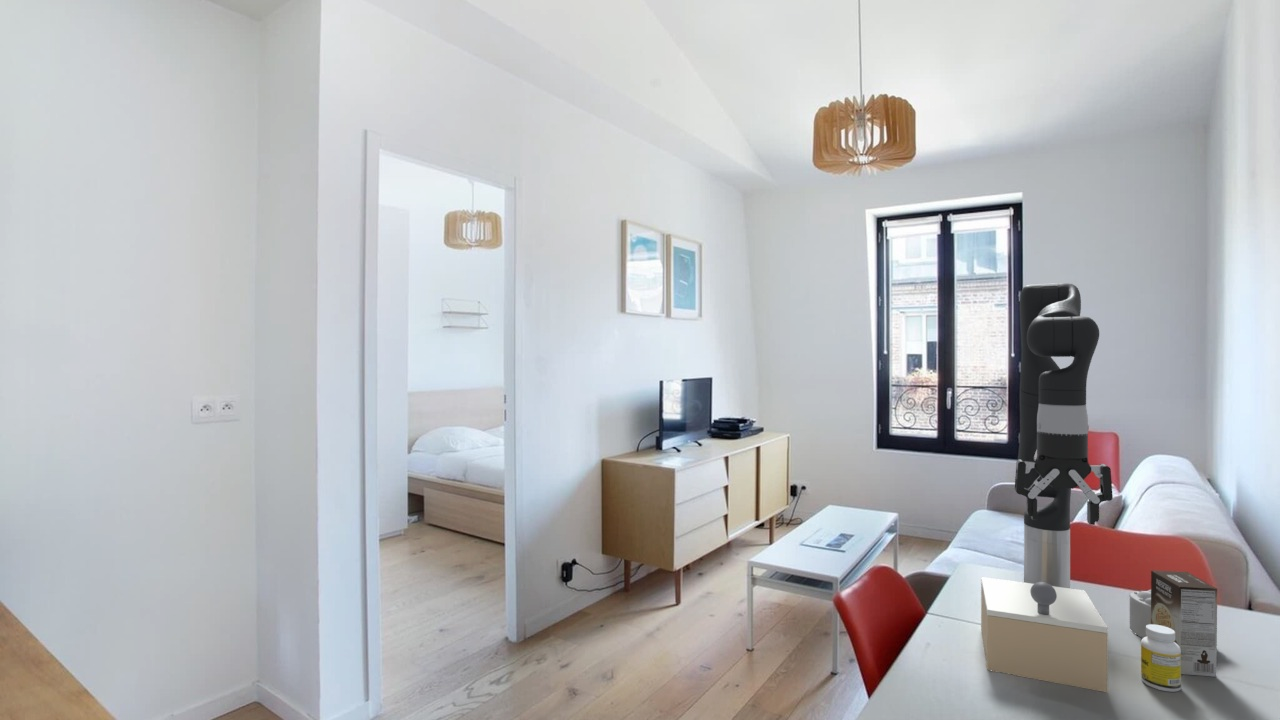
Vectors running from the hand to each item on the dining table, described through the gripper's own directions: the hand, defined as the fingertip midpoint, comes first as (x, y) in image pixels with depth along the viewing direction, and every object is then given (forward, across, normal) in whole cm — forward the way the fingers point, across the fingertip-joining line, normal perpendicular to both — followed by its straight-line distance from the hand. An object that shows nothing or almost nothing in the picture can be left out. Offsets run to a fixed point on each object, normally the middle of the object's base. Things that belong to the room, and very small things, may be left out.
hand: (1061, 521), depth 112 cm
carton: (+28, +2, -8) cm, 29 cm away
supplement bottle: (+28, -15, -5) cm, 33 cm away
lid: (+18, +3, -8) cm, 20 cm away
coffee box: (+28, -22, -16) cm, 39 cm away
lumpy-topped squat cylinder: (+29, -23, -29) cm, 47 cm away
